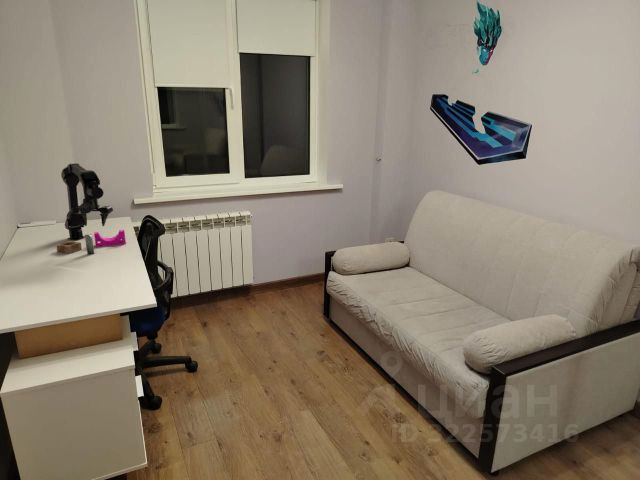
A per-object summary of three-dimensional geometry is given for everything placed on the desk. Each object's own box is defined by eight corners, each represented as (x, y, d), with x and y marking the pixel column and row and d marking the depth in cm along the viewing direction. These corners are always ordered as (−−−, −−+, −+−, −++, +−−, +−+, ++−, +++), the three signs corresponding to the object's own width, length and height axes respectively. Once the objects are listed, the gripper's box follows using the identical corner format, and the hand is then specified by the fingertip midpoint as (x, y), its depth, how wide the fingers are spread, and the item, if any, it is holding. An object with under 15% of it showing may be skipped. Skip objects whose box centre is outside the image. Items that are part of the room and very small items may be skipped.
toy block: (125, 241, 253) (124, 228, 250) (125, 244, 247) (124, 231, 245) (96, 244, 247) (94, 231, 245) (95, 247, 241) (94, 234, 239)
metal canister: (85, 254, 229) (83, 235, 226) (90, 252, 232) (88, 234, 229) (90, 255, 228) (88, 236, 225) (95, 253, 231) (93, 234, 228)
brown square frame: (57, 252, 231) (56, 245, 230) (70, 248, 239) (68, 241, 238) (69, 254, 229) (68, 246, 228) (81, 249, 236) (80, 242, 235)
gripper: (63, 198, 218) (67, 229, 222) (100, 199, 217) (104, 230, 222) (75, 194, 229) (80, 224, 233) (111, 195, 228) (115, 224, 232)
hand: (94, 225), depth 230 cm, fingers open, 9 cm apart
